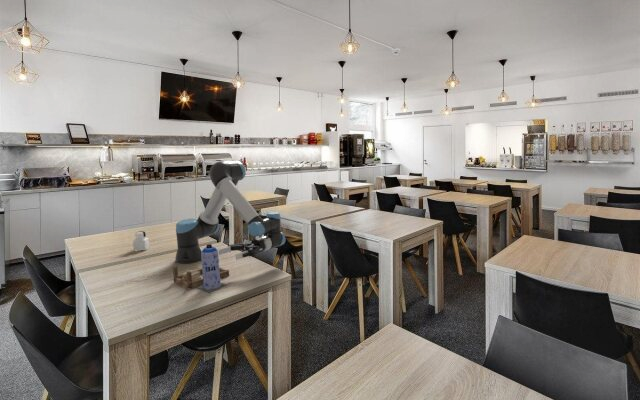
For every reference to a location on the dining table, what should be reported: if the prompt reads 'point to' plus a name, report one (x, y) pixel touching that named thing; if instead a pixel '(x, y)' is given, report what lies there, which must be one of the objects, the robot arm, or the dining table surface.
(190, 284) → the rack
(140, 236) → the medicine bottle
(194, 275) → the offcut top
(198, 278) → the offcut low
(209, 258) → the aerosol can
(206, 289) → the mat
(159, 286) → the dining table surface
